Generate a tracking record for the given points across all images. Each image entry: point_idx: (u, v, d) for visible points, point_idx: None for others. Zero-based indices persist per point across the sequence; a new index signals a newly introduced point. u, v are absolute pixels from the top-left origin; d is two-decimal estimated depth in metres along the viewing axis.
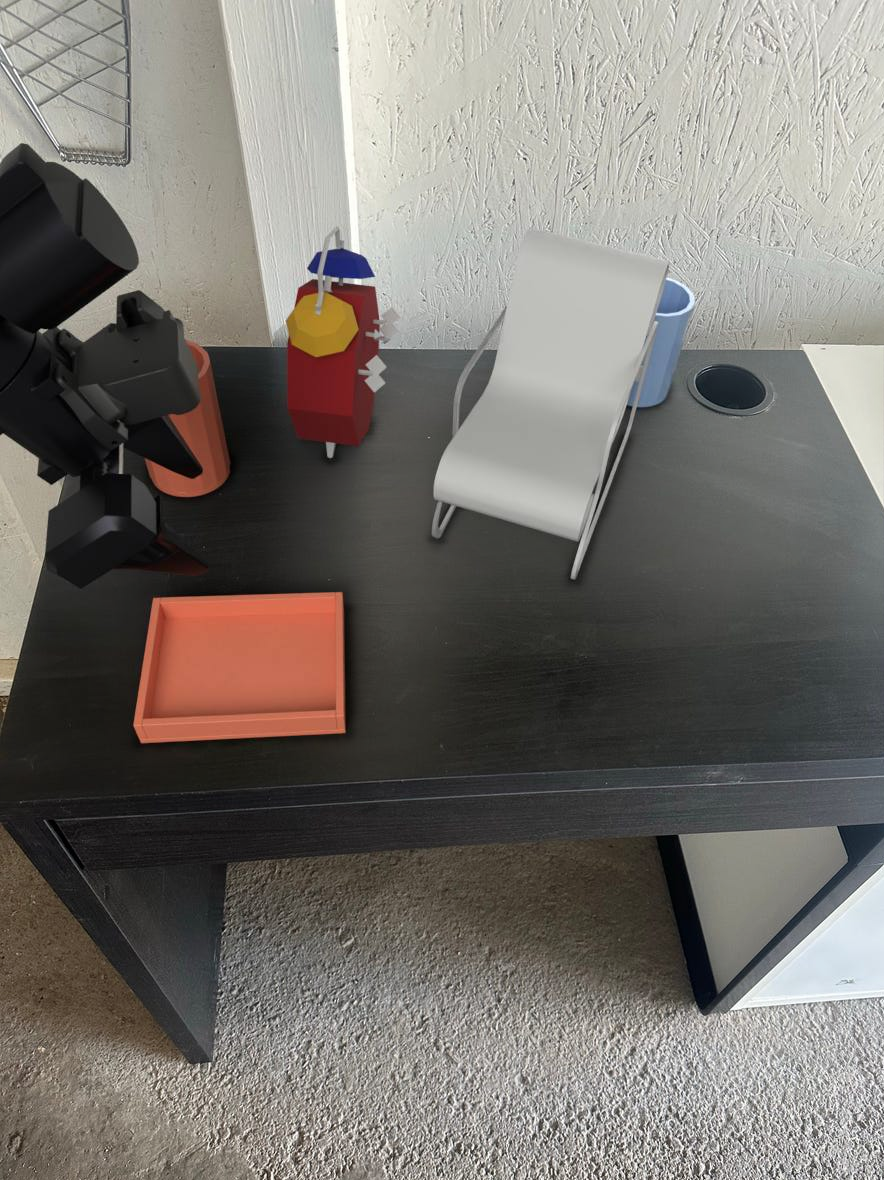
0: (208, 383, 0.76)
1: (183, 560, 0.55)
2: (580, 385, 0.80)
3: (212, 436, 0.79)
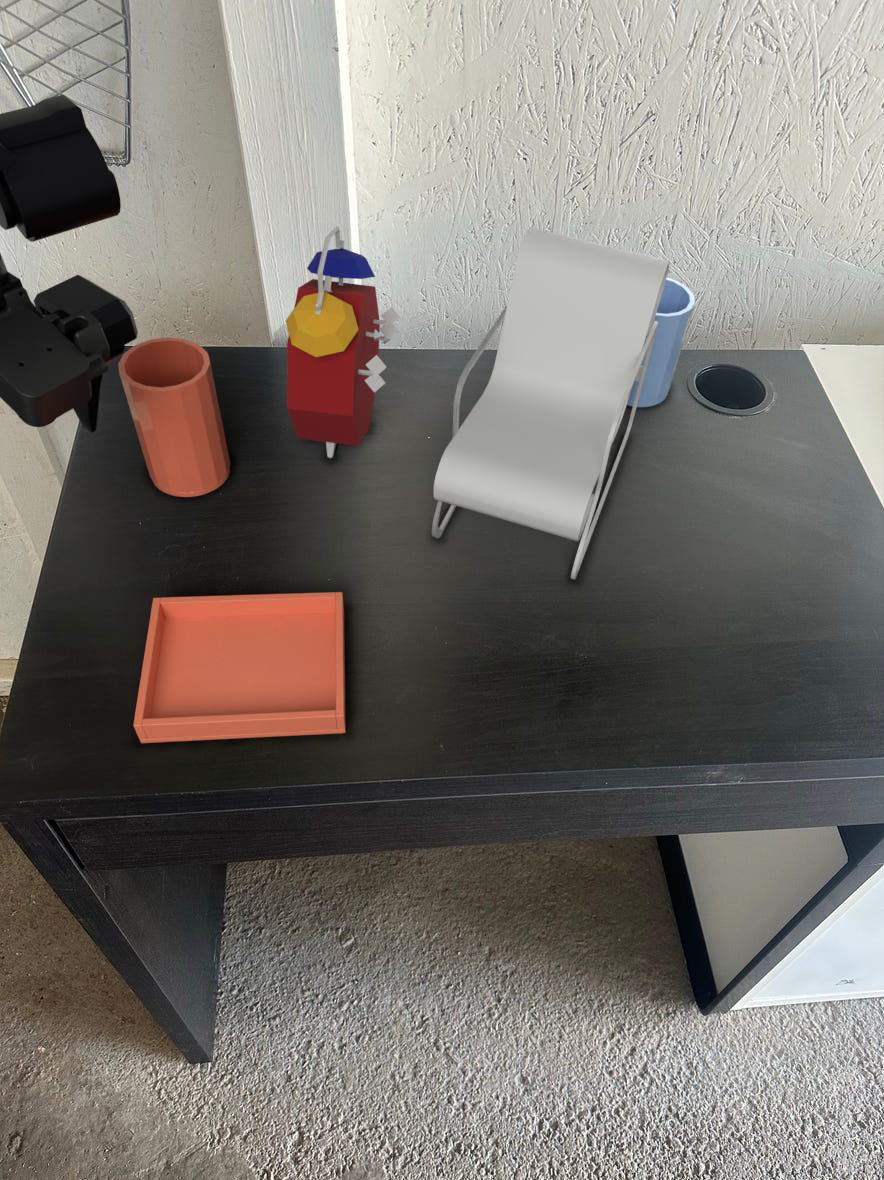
0: (208, 383, 0.76)
1: None
2: (580, 385, 0.80)
3: (212, 436, 0.79)
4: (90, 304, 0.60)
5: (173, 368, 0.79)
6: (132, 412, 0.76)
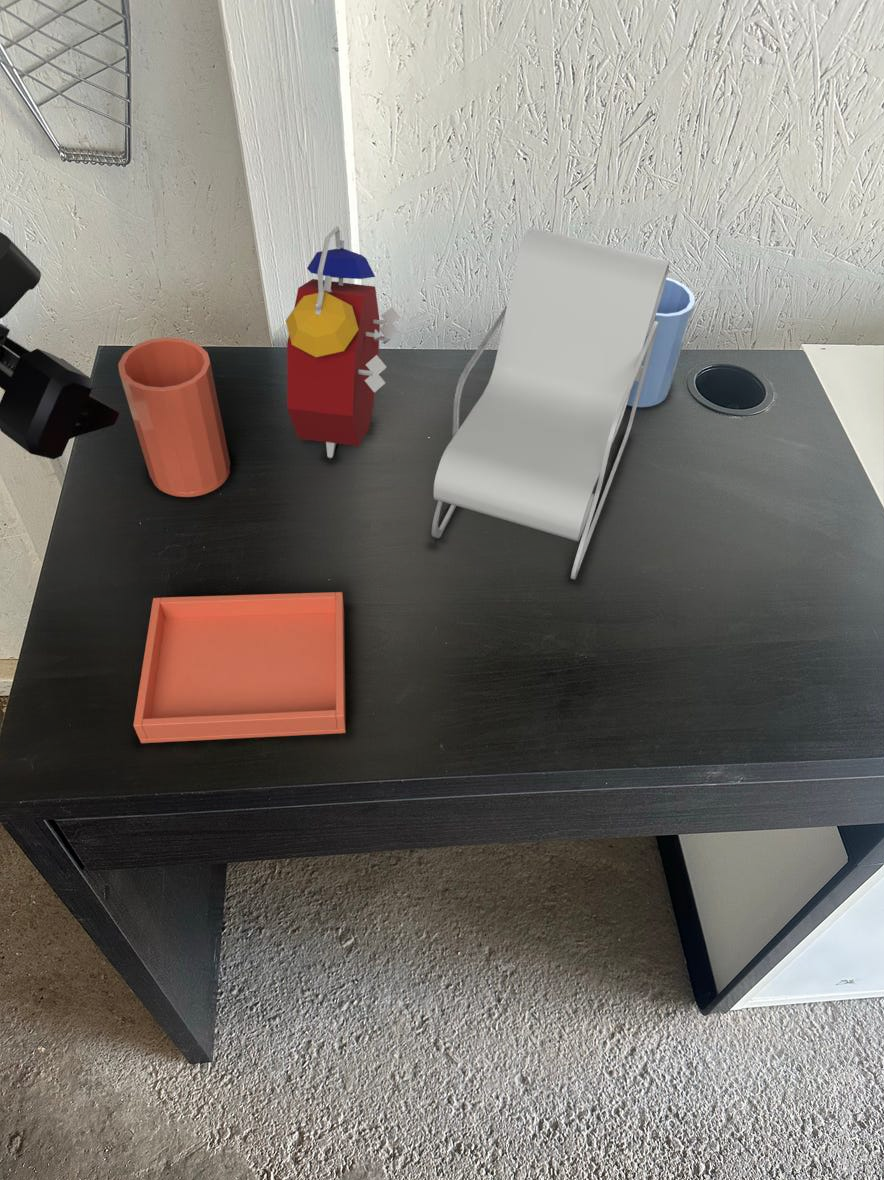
0: (208, 383, 0.76)
1: (101, 411, 0.66)
2: (580, 385, 0.80)
3: (212, 436, 0.79)
4: None
5: (173, 368, 0.79)
6: (132, 412, 0.76)
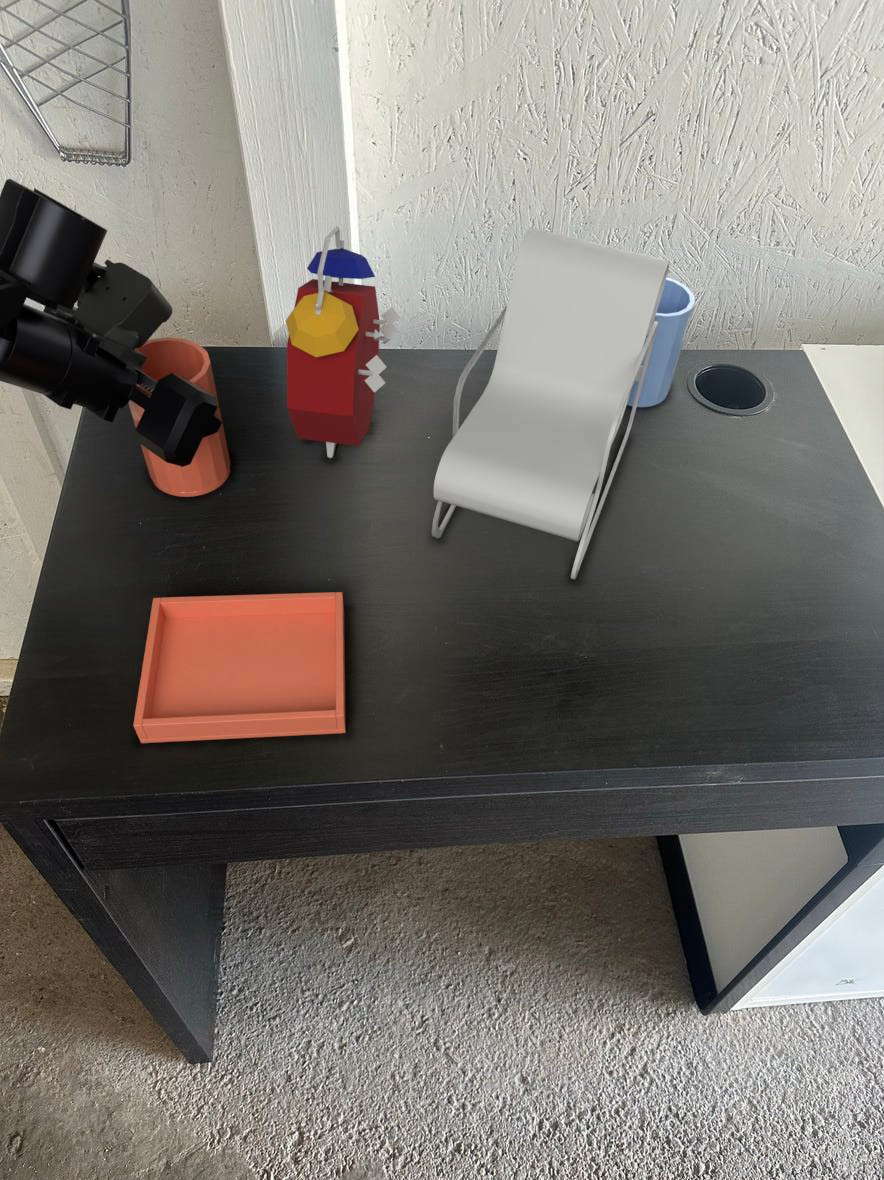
0: (208, 383, 0.76)
1: None
2: (580, 385, 0.80)
3: (212, 435, 0.79)
4: None
5: (173, 368, 0.79)
6: (132, 412, 0.76)
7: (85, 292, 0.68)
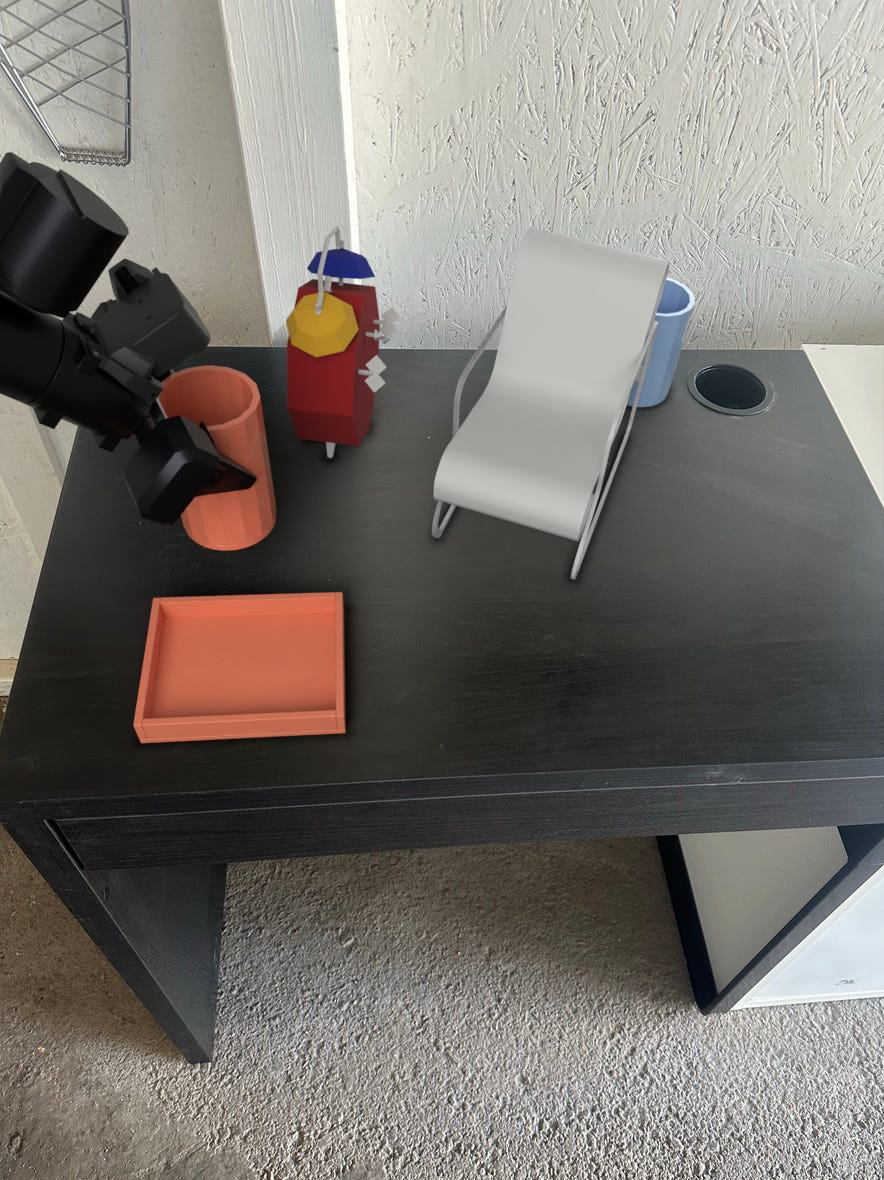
0: (246, 432, 0.63)
1: (235, 476, 0.63)
2: (580, 385, 0.80)
3: (244, 490, 0.66)
4: None
5: (230, 402, 0.67)
6: None
7: (118, 299, 0.57)
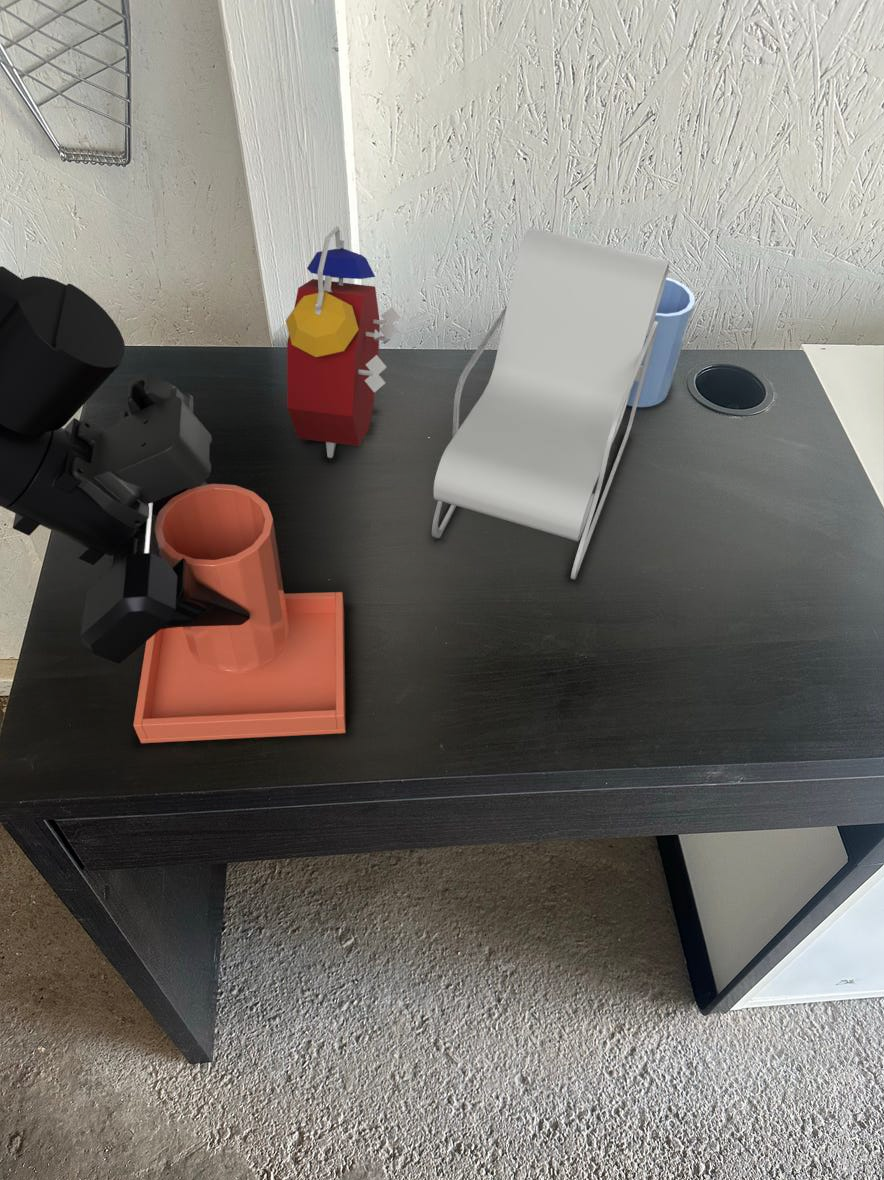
0: (241, 571, 0.57)
1: (221, 613, 0.58)
2: (580, 385, 0.80)
3: None
4: None
5: (253, 526, 0.62)
6: None
7: (130, 413, 0.53)
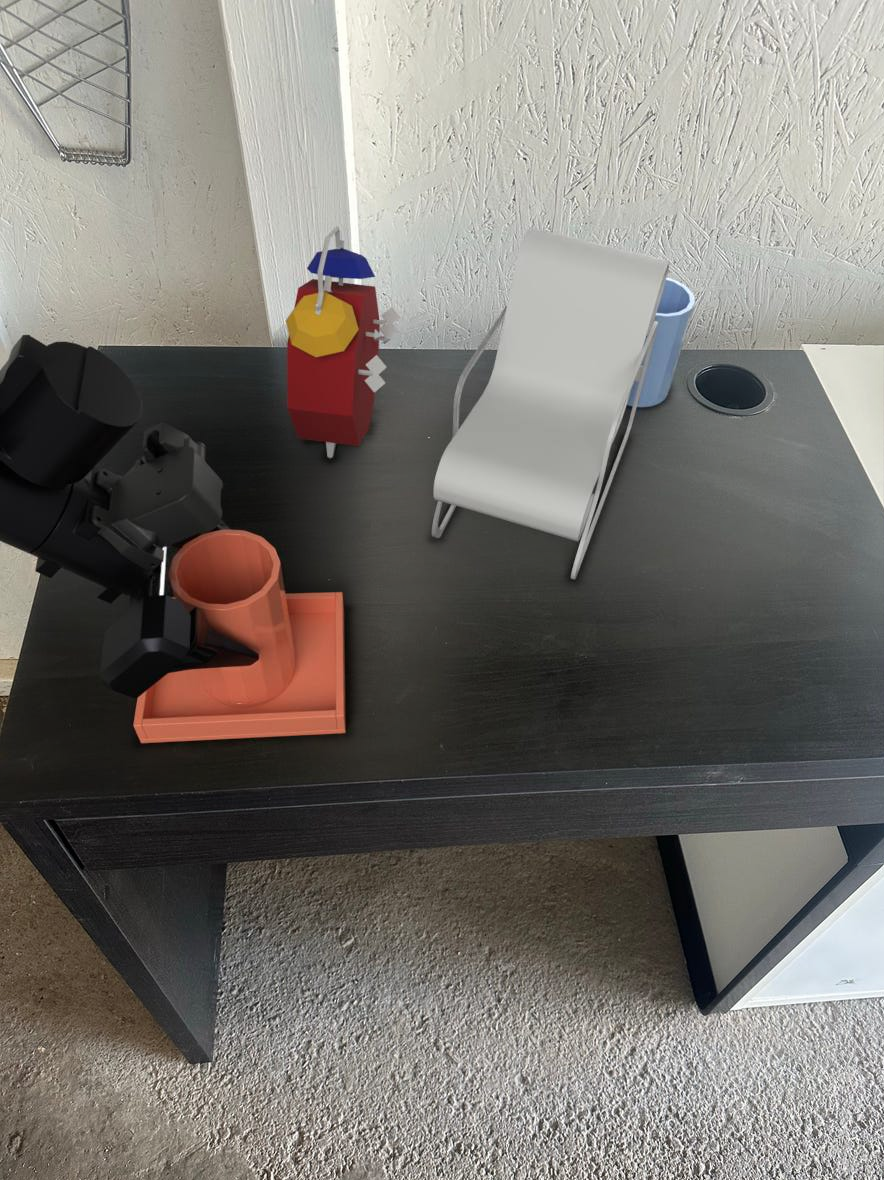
0: (251, 614, 0.60)
1: (232, 656, 0.60)
2: (580, 385, 0.80)
3: None
4: None
5: (261, 567, 0.65)
6: None
7: (146, 462, 0.56)
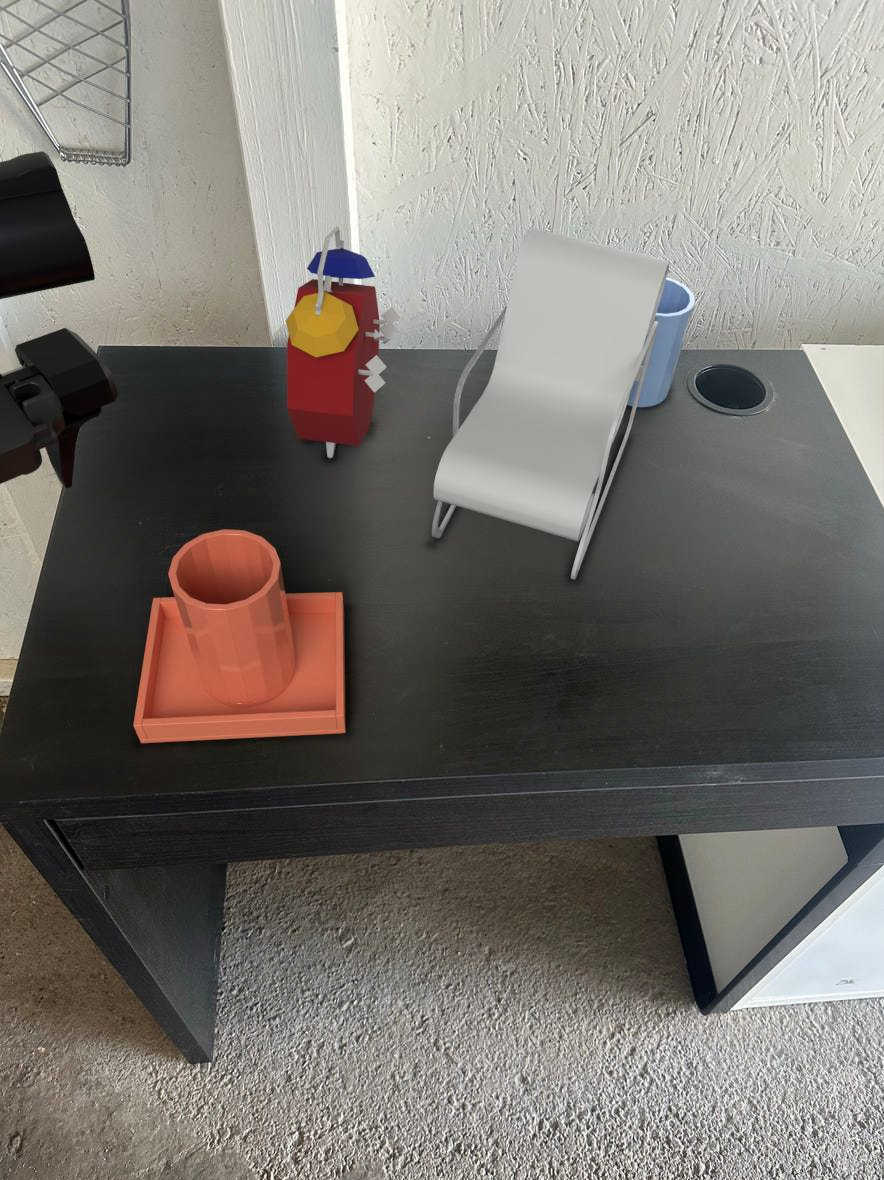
0: (251, 614, 0.60)
1: None
2: (580, 385, 0.80)
3: (248, 661, 0.64)
4: (66, 363, 0.57)
5: (261, 567, 0.65)
6: None
7: (9, 389, 0.51)
